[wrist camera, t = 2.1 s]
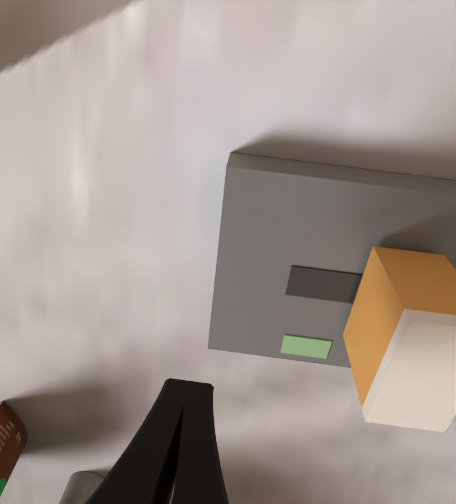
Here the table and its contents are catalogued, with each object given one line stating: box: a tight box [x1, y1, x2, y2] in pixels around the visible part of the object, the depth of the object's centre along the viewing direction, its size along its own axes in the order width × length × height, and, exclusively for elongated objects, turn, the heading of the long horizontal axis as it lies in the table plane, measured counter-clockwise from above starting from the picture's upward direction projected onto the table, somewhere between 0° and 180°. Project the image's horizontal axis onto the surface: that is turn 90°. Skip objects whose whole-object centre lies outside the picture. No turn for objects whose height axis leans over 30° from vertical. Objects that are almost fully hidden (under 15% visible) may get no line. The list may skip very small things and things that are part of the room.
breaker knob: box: [343, 246, 456, 432], centre depth 15 cm, size 3×5×5 cm, turn 174°
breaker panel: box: [208, 153, 456, 368], centre depth 19 cm, size 16×10×2 cm, turn 84°
